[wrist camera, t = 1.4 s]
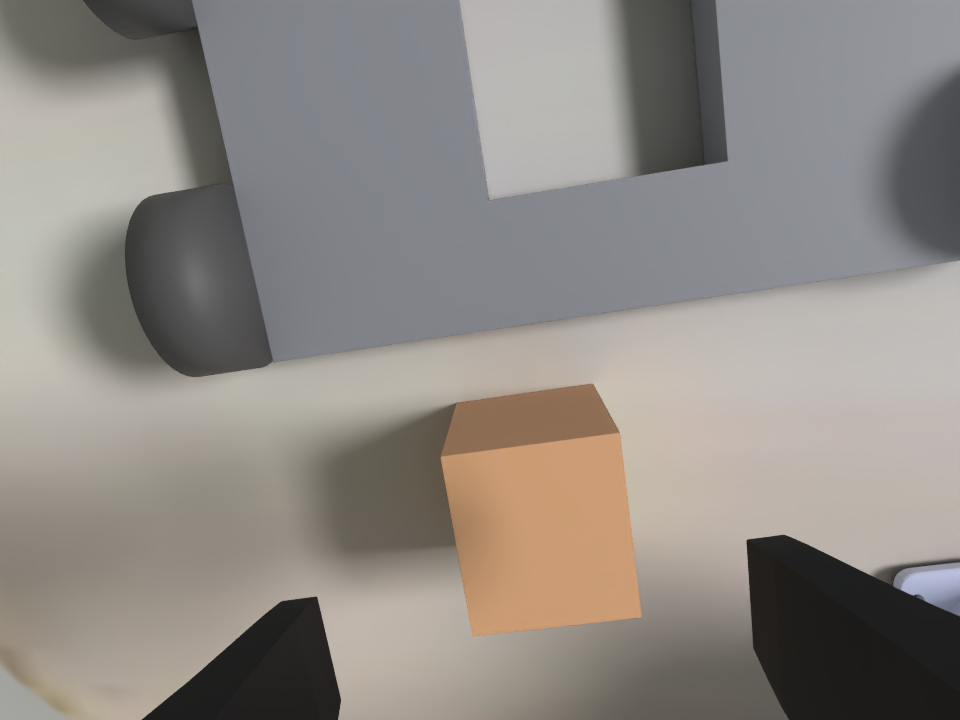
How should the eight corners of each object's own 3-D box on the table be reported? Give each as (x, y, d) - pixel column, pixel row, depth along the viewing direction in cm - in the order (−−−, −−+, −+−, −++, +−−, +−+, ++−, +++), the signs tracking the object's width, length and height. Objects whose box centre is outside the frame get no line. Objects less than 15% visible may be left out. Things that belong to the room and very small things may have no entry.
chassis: (1011, 242, 19) (1191, 246, 14) (242, 357, 20) (157, 397, 15) (1015, -318, 16) (1241, -562, 11) (128, -129, 18) (-18, -267, 13)
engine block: (610, 527, 21) (641, 617, 16) (480, 543, 21) (472, 636, 16) (592, 383, 20) (619, 432, 15) (456, 402, 20) (440, 456, 16)
